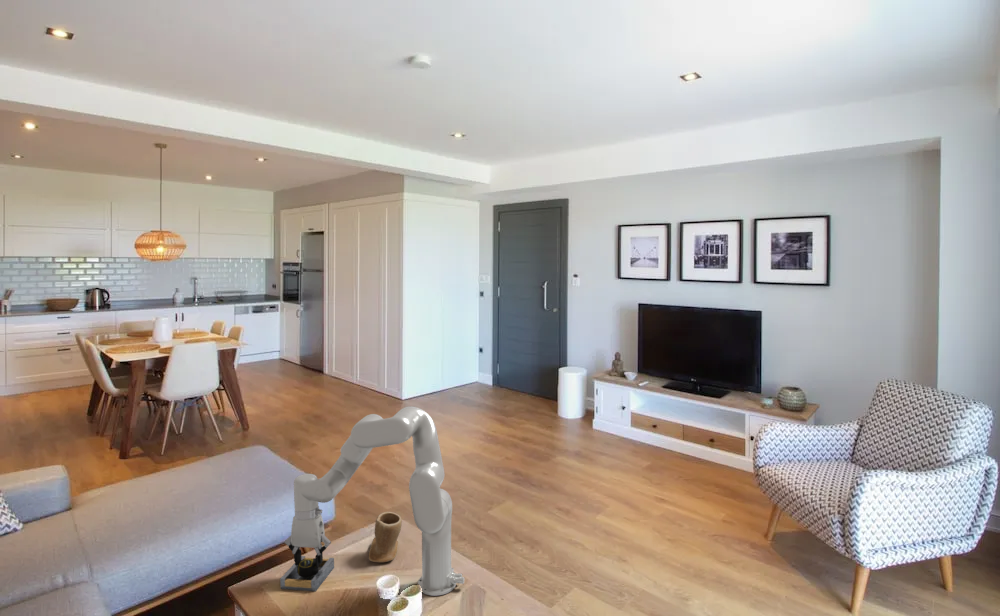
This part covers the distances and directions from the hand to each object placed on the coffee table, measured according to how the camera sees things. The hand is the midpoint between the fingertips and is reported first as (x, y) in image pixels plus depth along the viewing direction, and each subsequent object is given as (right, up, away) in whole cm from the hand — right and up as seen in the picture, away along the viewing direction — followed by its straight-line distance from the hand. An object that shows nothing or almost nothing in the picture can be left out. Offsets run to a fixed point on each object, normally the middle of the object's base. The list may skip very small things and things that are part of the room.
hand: (308, 563), depth 181 cm
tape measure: (0, -4, +1) cm, 4 cm away
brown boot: (+23, -4, +16) cm, 28 cm away
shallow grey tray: (0, -5, 0) cm, 5 cm away
